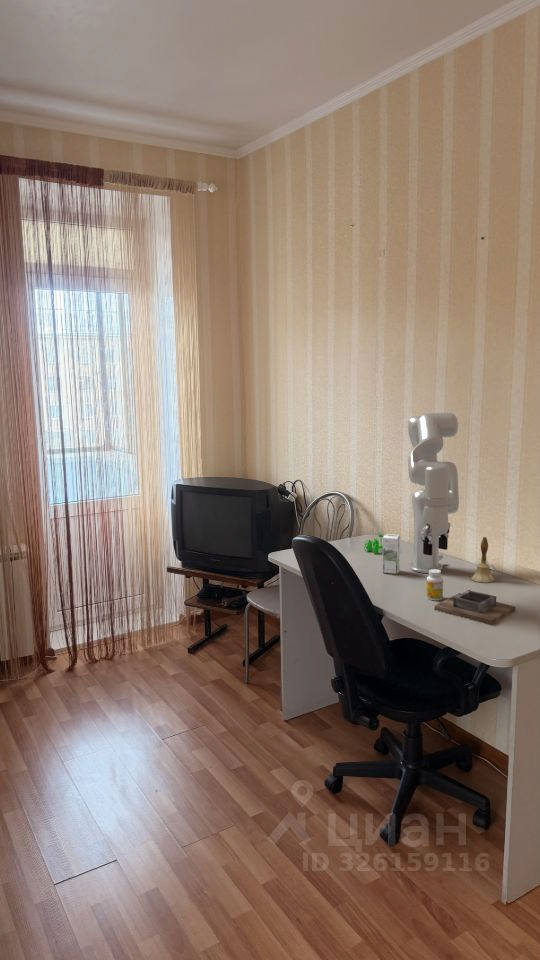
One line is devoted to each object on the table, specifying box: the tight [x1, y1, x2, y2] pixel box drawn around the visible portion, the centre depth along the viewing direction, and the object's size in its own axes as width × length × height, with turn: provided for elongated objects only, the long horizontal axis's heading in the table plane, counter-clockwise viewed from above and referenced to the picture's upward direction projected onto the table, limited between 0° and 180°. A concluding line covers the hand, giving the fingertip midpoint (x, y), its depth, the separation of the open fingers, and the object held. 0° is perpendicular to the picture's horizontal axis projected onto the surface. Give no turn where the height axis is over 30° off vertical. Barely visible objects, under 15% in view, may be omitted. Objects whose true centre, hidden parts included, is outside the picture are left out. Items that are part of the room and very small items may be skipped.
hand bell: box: [471, 536, 496, 584], centre depth 255 cm, size 8×8×16 cm
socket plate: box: [434, 589, 516, 626], centre depth 225 cm, size 16×20×4 cm
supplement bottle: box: [426, 569, 444, 601], centre depth 237 cm, size 5×5×10 cm
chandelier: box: [363, 534, 385, 555], centre depth 297 cm, size 15×15×7 cm
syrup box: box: [382, 533, 401, 575], centre depth 267 cm, size 6×6×14 cm
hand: (435, 551), depth 235 cm, fingers open, 9 cm apart
